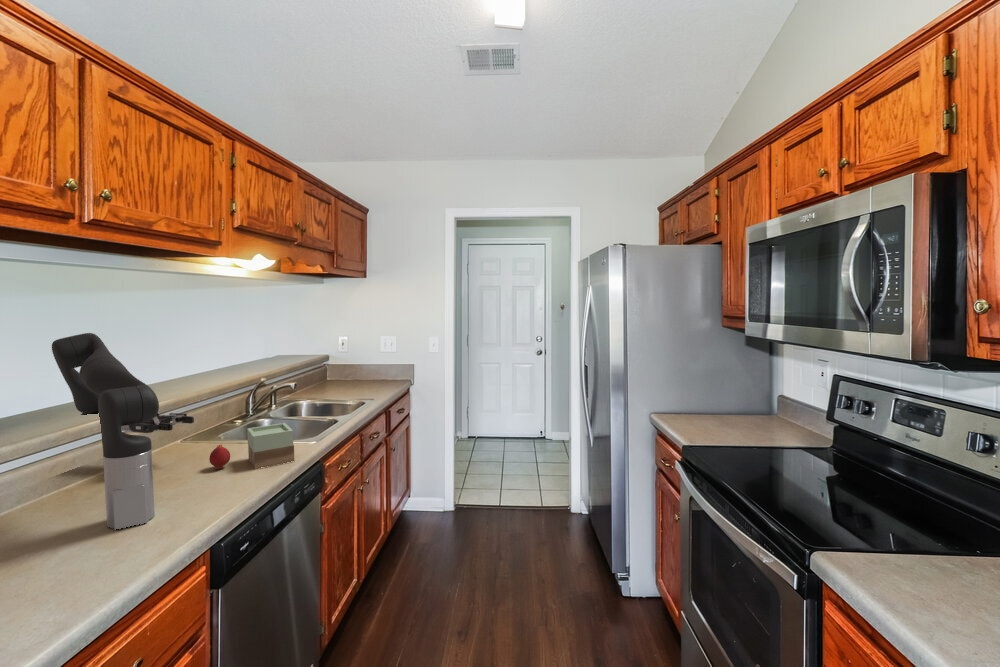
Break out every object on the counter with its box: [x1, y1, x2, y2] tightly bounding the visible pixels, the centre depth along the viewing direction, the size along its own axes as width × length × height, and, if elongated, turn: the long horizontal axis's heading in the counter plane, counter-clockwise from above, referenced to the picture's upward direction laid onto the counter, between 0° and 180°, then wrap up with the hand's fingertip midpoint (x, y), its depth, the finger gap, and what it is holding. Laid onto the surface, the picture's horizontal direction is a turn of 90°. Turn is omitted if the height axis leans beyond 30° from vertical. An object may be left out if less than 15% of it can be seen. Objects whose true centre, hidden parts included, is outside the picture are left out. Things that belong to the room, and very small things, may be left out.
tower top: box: [246, 422, 294, 452], centre depth 155 cm, size 12×12×5 cm
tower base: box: [247, 443, 295, 470], centre depth 155 cm, size 12×12×6 cm
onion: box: [208, 443, 231, 469], centre depth 147 cm, size 6×6×8 cm
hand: (182, 423), depth 147 cm, fingers open, 8 cm apart
